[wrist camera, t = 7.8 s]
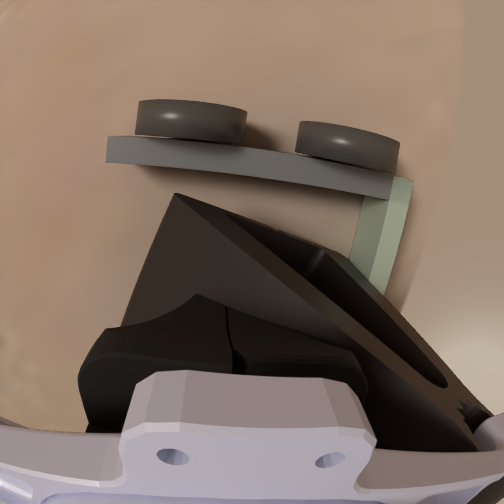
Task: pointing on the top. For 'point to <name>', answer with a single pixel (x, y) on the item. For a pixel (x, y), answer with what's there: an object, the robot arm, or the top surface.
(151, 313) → the phone stand
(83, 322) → the top surface
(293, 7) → the top surface
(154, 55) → the top surface
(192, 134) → the chassis bay
